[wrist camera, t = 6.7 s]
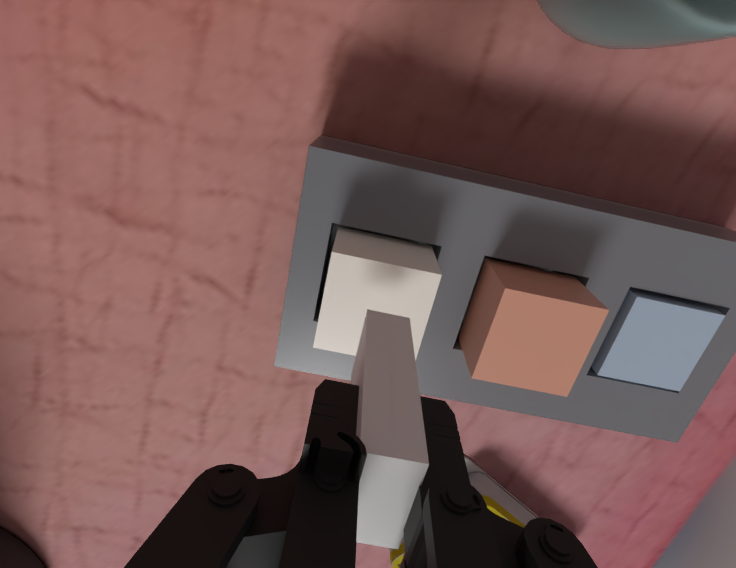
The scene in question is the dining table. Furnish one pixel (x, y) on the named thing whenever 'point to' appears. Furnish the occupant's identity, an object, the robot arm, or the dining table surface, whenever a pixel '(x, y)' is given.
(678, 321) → the blue key
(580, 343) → the orange key
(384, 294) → the ivory key
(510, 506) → the emergency button
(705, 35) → the cup
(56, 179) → the dining table surface
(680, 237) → the key panel
